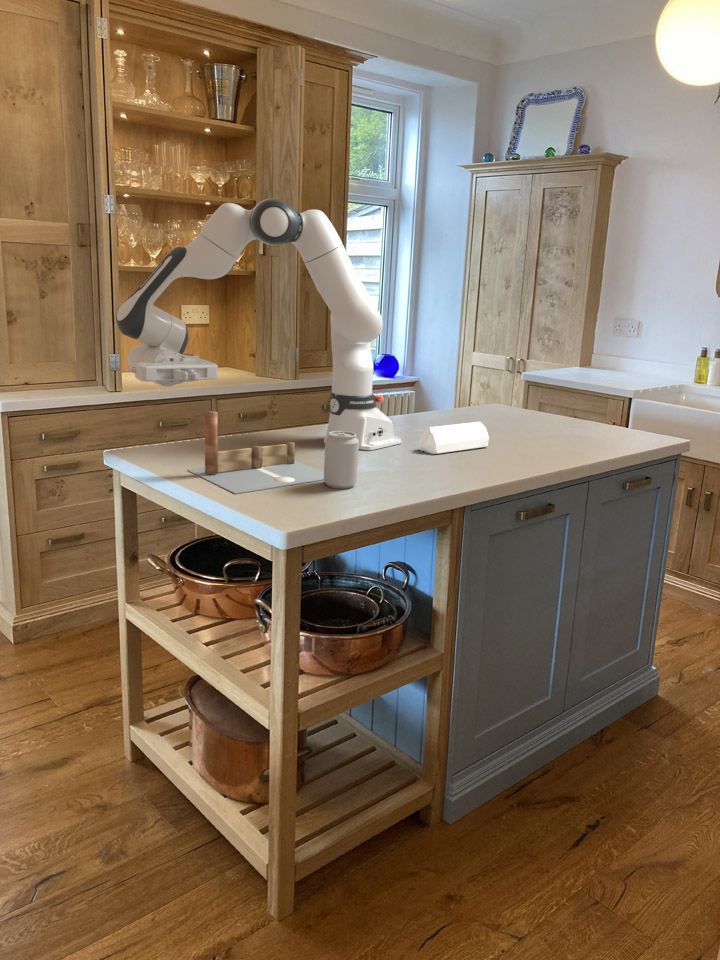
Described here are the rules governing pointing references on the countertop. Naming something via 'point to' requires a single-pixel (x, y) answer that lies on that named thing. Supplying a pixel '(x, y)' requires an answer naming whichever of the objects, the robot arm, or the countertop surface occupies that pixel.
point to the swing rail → (223, 458)
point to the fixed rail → (273, 455)
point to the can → (341, 459)
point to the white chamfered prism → (454, 438)
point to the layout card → (262, 477)
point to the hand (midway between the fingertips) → (191, 376)
